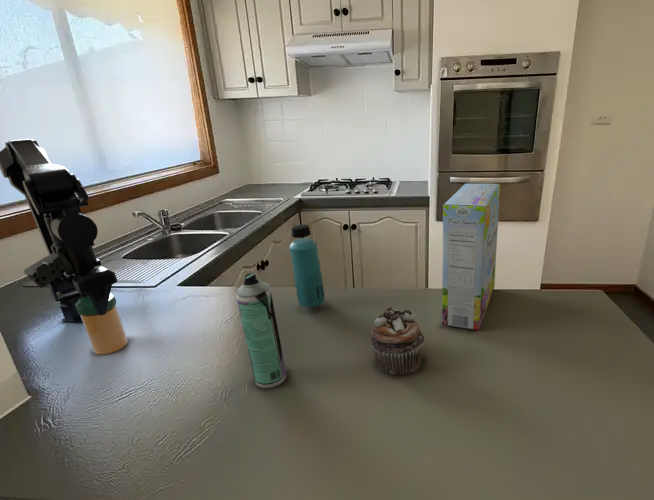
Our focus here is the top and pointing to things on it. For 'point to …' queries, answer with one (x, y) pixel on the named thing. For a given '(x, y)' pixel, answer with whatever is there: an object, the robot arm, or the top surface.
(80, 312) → the jam lid
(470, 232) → the snack box
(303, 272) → the beverage bottle
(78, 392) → the top surface
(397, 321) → the cupcake
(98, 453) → the top surface
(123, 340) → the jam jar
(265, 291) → the spray can
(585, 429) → the top surface
